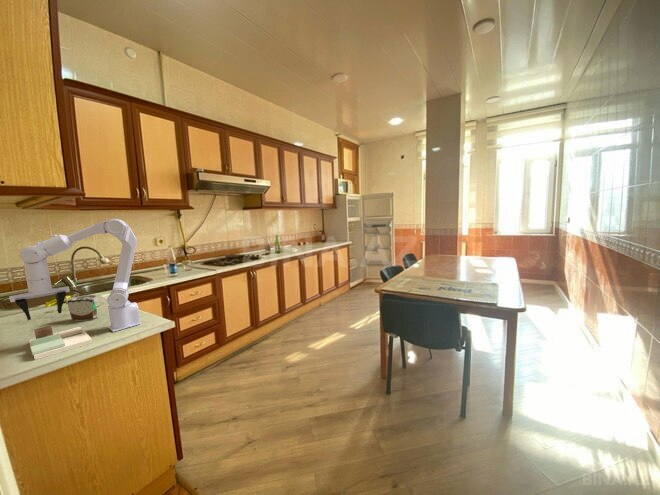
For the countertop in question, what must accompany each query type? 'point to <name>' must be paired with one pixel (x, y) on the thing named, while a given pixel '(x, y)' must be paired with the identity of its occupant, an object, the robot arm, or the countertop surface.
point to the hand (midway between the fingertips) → (44, 315)
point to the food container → (83, 307)
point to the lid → (46, 344)
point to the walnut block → (43, 332)
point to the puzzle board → (66, 342)
